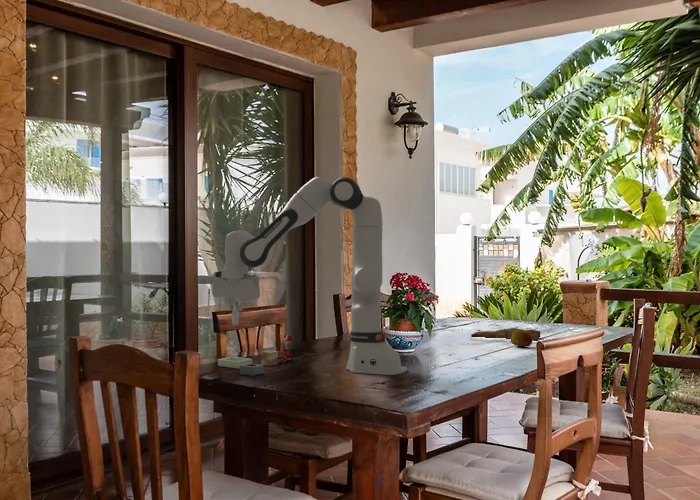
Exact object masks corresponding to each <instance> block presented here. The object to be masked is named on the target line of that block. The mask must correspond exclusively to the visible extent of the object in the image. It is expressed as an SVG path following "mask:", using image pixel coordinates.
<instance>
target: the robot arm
mask: <svg viewBox="0 0 700 500" xmlns="http://www.w3.org/2000/svg"><path fill="white" fill-rule="evenodd" d="M361 190H362V189H361V188H360V185H359V184H358V182H356V181H355V180H353V178H350V177H345V176H343V177H339V178H337V179H336V180H334V181H333V182H330V181H329V180H328V179H326V178H325V177H322V176H314V177H313V178H311V179H309V180H308V181H307V182H306V183H305V184H304V185H302V186H301V187H300V188H299V189H298V190H297V192H295V193H294V194H293V196H292V197H290V199H289V201H287V203H286V205H284V207H283V209H282V210H281V211H280V213H279V214H278V215H277V216H276V217H275V219H274V220H272V222H270V224H268V226H266V228H265V229H264V230H263V231H262V232H261V233H259V234H258V235H256V236H254V235H252V234H250V233H249V232H248V231H246V230H245V229H244V230H235V231H231V232H229V233H227V234H226V237H225V244H224V257H225V262H224V268H222V269H220V270H217V271H214V272H213V275H212V276H213V278H214V279H213V280H212V285H211V286H212V287H211V292H212V293H211V295H212V296H213V297H214V298H226V299H225V300H226V303H227V304H228V310H229V311H232V309H233V301H234V299H239V300H238V301H239V306H237V310H238V311H239V312H240V311H243V309H244V305H245V303H246V300H258V299H260V297H261V288H260V278H259V276H258V275H257V274H254V273H252V274H251V273H249V267H250V268H257V267H261V266H263V265H266V264H268V263H269V262H271V261H272V260H273V257H274V248H273V247H274V245H275V244H277V243H278V242H279V241H280V240H281V239H282V238H283V236H284V235H285V234H286V233H288V232H289V231H291V230H292V229H295V228H296V227H300V226H303V225H305V224H307V223H308V222H310V221H311V220H312V219H313V218H314V217H316V215H317V214H319V212H320V211H321V210H322V209H323V208H324V207H325V206H326V205H329V204H330V203H331V204H333V205H335V206H337V207H338V208H341V209H344V210H350V212H351V214H352V244H351V245H352V246H351V247H352V251H351V252H352V253H351V254H352V255H351V257H352V260H351V261H352V263H351V264H352V266H351V267H352V271H351V272H352V273H351V283H350V284H351V285H350V286H351V294H350V295H351V303H350V304H351V316H350V317H351V318H350V325H351V326H350V327H351V328H350V331H349V345H350V346H349V347H350V348H349V355H348V361H347V365H346V367H345V368H346V369H347V371H350V372H351V373H354V374H355V373H357V374H368V375H370V374H371V375H385V376H395V375H396V376H397V375H401V374H404V373H406V372H408V368H407V367H406V366H402V362H401V356H400V354H399V353H398V351H396V350H395V349H394V348H393V347H392V346H391V345H389V344H388V343H387V342H386V338H387V337H388V336H387V335H388V334H387V333H384V332H382V330H381V329H382V328H381V327H382V303H381V302H382V301H381V300H382V299H381V298H382V297H381V287H382V284H383V214H382V213H383V212H382V207H381V202H380V201H379V200H378V199H377V198H374V197H371V196H364V194H363V193H362V191H361Z"/></svg>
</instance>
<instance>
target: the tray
mask: <svg viewBox="0 0 700 500" xmlns="http://www.w3.org/2000/svg"><path fill="white" fill-rule="evenodd" d="M249 363H251V364H253V358H248V357H247V358H246V357H239V356H238V357H237V356H228V357H224V358H218V359H217V366H218V367H223V368H231V369H239V370H240V366H241V365H245V364H249Z"/></svg>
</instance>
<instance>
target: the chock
mask: <svg viewBox="0 0 700 500" xmlns="http://www.w3.org/2000/svg"><path fill="white" fill-rule="evenodd" d="M278 351H279V350H269V349H268V350H264V351H261V362H260V363H261V364H260V365H264V366H266V367H267V366H268V367H270V366H271V367H272V366H277V365H278V363H279V362H278Z"/></svg>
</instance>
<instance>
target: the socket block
mask: <svg viewBox="0 0 700 500" xmlns="http://www.w3.org/2000/svg"><path fill="white" fill-rule="evenodd" d="M264 366H265V365H261V364H259V363H252V364H251V363H249V364H245V365H241V366H240V369H239V375H242V376H250V377H255V376H258V375H262V374H264V371H265V369H264Z"/></svg>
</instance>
